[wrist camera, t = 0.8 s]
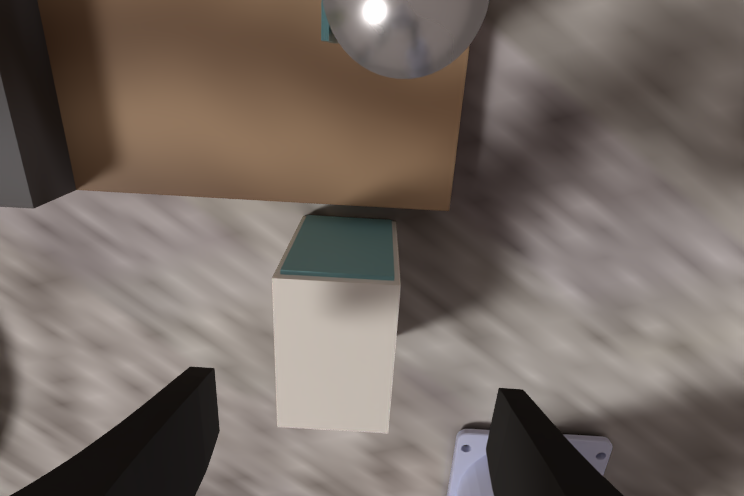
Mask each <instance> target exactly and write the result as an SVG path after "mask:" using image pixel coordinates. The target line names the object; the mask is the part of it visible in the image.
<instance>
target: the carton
mask: <svg viewBox="0 0 744 496" xmlns="http://www.w3.org/2000/svg"><path fill="white" fill-rule="evenodd" d="M400 290H401V281H400V268H399V254H398V241H397V228H396V221H392V220H386V219H368V218H351V217H333V216H316V215H307V216H303V217H302V219H301V221H300V223H299V225H298V227H297V229H296V231H295V233H294V235H293V237H292V239H291V241H290V243H289V245H288V247H287V249H286V251H285V253H284V255H283V257H282V259H281V261H280V263H279V265H278V267H277V269H276V271H275V273H274V275H273V277H272V293H273V320H274V348H275V375H276V402H277V427H288V428H305V429H323V430H340V431H357V432H374V433H388V429H389V417H390V405H391V394H392V382H393V371H394V359H395V347H396V336H397V324H398V313H399V301H400Z"/></svg>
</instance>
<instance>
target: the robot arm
mask: <svg viewBox="0 0 744 496" xmlns="http://www.w3.org/2000/svg"><path fill="white" fill-rule="evenodd" d="M219 431H220V430H219V418H218V406H217V394H216V382H215V370H214V368H202V367H189V368H188V369H187V370H186V371H184V372H183V373H182V374H181V375H179V376H178V377H177V378H176V379H174V380H173V381H172V382H171V383H169V384H168V385H167V386H166V387H165V388H163V389H162V390H161V391H160V392H158V393H157V394H156V395H155V396H153V397H152V398H151V399H150V400H149V401H147V402H146V403H145V404H144V405H142V406H141V407H140V408H139V409H137V410H136V411H135V412H133V413H132V414H131V415H130V416H128V417H127V418H126V419H125V420H123V421H122V422H121V423H119V424H118V425H117V426H115V427H114V428H113V429H111V430H110V431H108V432H107V433H106V434H104V435H103V436H102V437H100V438H99V439H97V440H96V441H95V442H93V443H92V444H91V445H89V446H88V447H86V448H85V449H84V450H82V451H81V452H79V453H78V454H76V455H75V456H73V457H72V458H70V459H69V460H67V461H66V462H64V463H63V464H61V465H60V466H58V467H57V468H55V469H54V470H52V471H50V472H49V473H47V474H46V475H44V476H42V477H41V478H39V479H37V480H36V481H34V482H33V483H31V484H29V485H28V486H26V487H24V488H23V489H21V490H19V491H17V492H15V493H14V494H12V495H10V496H195V495H196V492H197V490H198V488H199V486H200V484H201V482H202V479H203V477H204V475H205V473H206V470H207V468H208V465H209V462H210V459H211V456H212V453H213V450H214V447H215V444H216V440H217V437H218V434H219ZM463 445H468V446H463ZM612 449H613V446H612V444H611V442H610V440H609V439H608V438H607V437H603V436H586V435H569V434H562V433H561V432H560V431H559V430H558V429H557V427H556V426H555V425H554V424H553V423H552V422H551V421H550V420H549V418H548V417H547V416H546V415H545V414H544V413H543V412H542V410H541V409H540V408H539V407H538V406H537V405H536V404H535V402H534V401H533V400H532V399H531V398H530V397H529V396H528V395H527V394H526V392H525V391H524V390H521V389H507V388H499V390H498V394H497V399H496V404H495V408H494V413H493V417H492V422H491V427H490V430H481V429H463V430H460V431H459V432H458V434H457V437H456V443H455V449H454V455H453V461H452V467H451V473H450V480H449V486H448V492H447V496H623V495H622V494H621V493H620V492H619V491H618V490H617V489H616V488H615V487H614V486H613V485H612V484H611V483H610V482H609V481H608V480H607V479H605V478H604V477H603V475H604V472H605V469H606V466H607V463H608V460H609V458H610V455H611V452H612ZM598 453H599V454H598Z"/></svg>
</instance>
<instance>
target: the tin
mask: <svg viewBox="0 0 744 496" xmlns="http://www.w3.org/2000/svg"><path fill="white" fill-rule="evenodd" d="M489 1H490V0H321V41H325V42H329V43H334V44H338V43H339V44H340V45H341V47H342V48H343V49H344V51H345V52H346V53H347V54H348V55H349V56H350V57H351V58H352V59H353V60H355V61H356V62H357V63H358V64H360V65H361V66H363V67H364V68H366V69H368V70H369V71H371V72H374V73H376V74H378V75H381V76H385V77H389V78H396V79H412V78H419V77H423V76H426V75H430V74H432V73H435V72H437V71H439V70H441V69H443V68H444V67H446V66H448V65H449V64H451V63H452V62H453V61H454V60H455V59H457V58H458V57H459V56H460V55H461V54H462V53H463V52H464V51H465V50H466V49H467V48H468V46H469V45H470V44H471V42H472V41H473V40H474V38H475V36H476V35H477V33H478V31H479V30H480V27H481V25H482V23H483V21H484V18H485V15H486V12H487V9H488V6H489Z"/></svg>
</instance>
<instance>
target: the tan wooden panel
mask: <svg viewBox="0 0 744 496" xmlns="http://www.w3.org/2000/svg"><path fill="white" fill-rule="evenodd" d="M469 46H470V45H469ZM469 46H468V48H467V49H466V50H465V51H464V52H463V53H462V54H461V55H460V56H459V57H458V58H457V59H455V60H454V61H453V62H452V63H451V64H449V65H448V66H446V67H444V68H443V69H441V70H439V71H437V72H435V73H432V74H430V75H426V76H423V77H419V78H412V79H396V78H389V77H385V76H381V75H378V74H376V73H374V72H371V71H369V70H368V69H366V68H364V67H363V66H361V65H360V64H358V63H357V62H356V61H355V60H353V59H352V58H351V57H350V56H349V55H348V54H347V53H346V52H345V51H344V49H343V48H342V47H341V45H340V44H339V43H338V44H334V43H329V42H325V41H321V0H0V207H17V208H36V207H38V206H40V205H43V204H45V203H47V202H50V201H52V200H54V199H56V198H59V197H61V196H63V195H66V194H68V193H70V192H73V191H75V190H88V191H105V192H123V193H141V194H158V195H176V196H193V197H211V198H228V199H246V200H264V201H281V202H299V203H316V204H334V205H351V206H369V207H387V208H404V209H422V210H439V211H449V207H450V199H451V191H452V183H453V175H454V167H455V159H456V151H457V143H458V135H459V127H460V118H461V110H462V102H463V94H464V86H465V78H466V70H467V62H468V54H469Z"/></svg>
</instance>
